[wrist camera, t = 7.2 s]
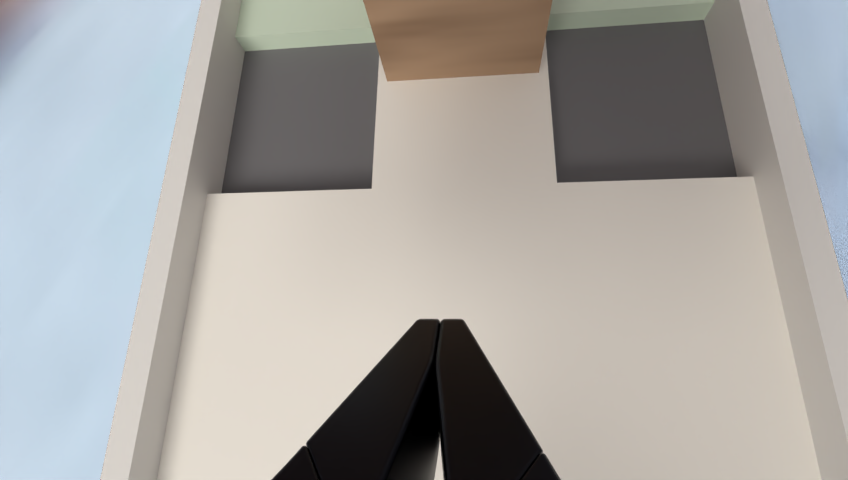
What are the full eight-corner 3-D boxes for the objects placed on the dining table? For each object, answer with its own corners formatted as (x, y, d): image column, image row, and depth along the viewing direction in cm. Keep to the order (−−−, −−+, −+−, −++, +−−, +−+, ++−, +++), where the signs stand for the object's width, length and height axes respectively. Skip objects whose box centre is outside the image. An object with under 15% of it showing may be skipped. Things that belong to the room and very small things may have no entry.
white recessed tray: (857, 611, 17) (945, 662, 14) (139, 564, 20) (75, 596, 17) (702, -71, 28) (731, -132, 24) (245, -30, 31) (218, -79, 28)
